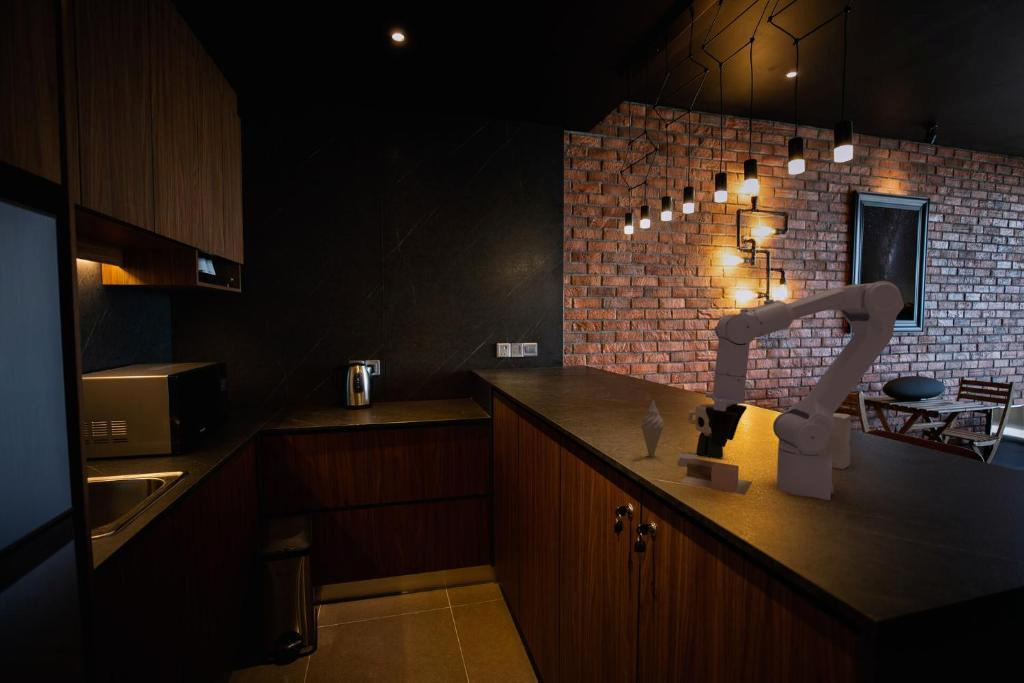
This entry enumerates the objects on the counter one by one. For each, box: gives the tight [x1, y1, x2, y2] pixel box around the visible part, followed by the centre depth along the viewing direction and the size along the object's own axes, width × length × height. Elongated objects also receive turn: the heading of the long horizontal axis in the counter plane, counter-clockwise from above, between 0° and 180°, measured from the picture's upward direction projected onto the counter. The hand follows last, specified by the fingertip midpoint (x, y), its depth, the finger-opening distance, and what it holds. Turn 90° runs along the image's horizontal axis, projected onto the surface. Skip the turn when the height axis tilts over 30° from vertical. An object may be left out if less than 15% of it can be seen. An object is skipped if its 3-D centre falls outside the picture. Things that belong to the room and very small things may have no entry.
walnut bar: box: [686, 458, 717, 481], centre depth 102 cm, size 7×4×3 cm, turn 55°
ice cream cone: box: [641, 399, 664, 458], centre depth 117 cm, size 5×5×15 cm
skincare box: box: [823, 412, 852, 470], centre depth 115 cm, size 6×4×12 cm
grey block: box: [678, 453, 699, 468], centre depth 111 cm, size 4×4×3 cm
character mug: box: [687, 403, 724, 460], centre depth 120 cm, size 11×7×13 cm, turn 52°
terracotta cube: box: [710, 461, 740, 494], centre depth 96 cm, size 4×4×4 cm
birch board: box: [680, 475, 753, 496], centre depth 99 cm, size 12×9×1 cm
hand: (723, 442), depth 96 cm, fingers open, 7 cm apart
